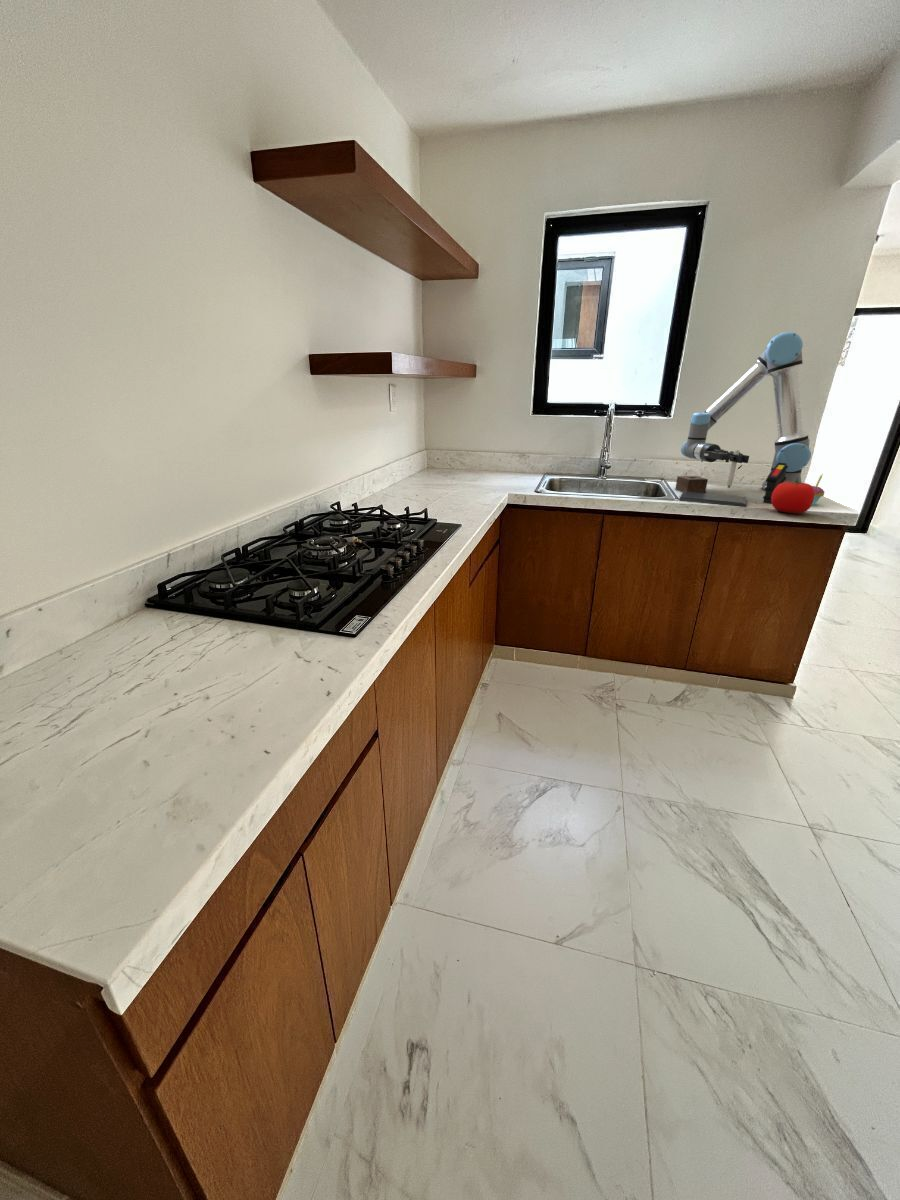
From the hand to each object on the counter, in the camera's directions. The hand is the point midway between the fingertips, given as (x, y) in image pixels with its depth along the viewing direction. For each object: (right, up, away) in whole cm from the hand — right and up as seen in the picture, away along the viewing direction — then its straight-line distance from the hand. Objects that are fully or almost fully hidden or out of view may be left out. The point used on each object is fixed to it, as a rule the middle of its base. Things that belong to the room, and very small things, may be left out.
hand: (744, 459), depth 195 cm
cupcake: (+28, -17, +5) cm, 33 cm away
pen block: (-8, -6, +29) cm, 30 cm away
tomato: (+10, -23, -10) cm, 27 cm away
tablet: (-7, -13, +11) cm, 19 cm away
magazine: (+16, -15, +9) cm, 23 cm away
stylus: (-1, -9, +10) cm, 13 cm away
